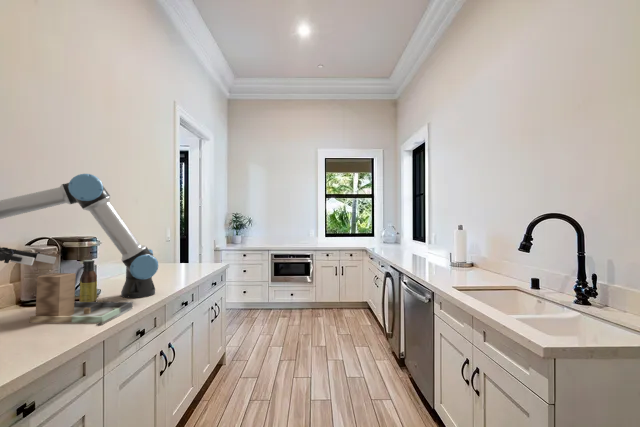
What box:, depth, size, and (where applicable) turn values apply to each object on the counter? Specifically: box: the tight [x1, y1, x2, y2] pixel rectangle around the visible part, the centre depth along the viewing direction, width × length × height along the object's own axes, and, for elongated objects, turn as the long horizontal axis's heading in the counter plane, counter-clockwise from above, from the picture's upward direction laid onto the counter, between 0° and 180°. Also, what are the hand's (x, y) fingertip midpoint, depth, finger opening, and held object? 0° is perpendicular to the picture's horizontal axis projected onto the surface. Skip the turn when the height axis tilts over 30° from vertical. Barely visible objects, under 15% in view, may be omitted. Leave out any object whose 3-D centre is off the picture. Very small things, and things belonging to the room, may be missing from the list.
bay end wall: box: [102, 309, 119, 321], centre depth 120 cm, size 1×10×3 cm, turn 3°
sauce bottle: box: [78, 259, 98, 302], centre depth 141 cm, size 6×6×20 cm
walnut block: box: [35, 272, 76, 316], centre depth 119 cm, size 8×8×16 cm
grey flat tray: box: [29, 301, 133, 326], centre depth 124 cm, size 25×21×3 cm
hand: (44, 261), depth 120 cm, fingers open, 13 cm apart
